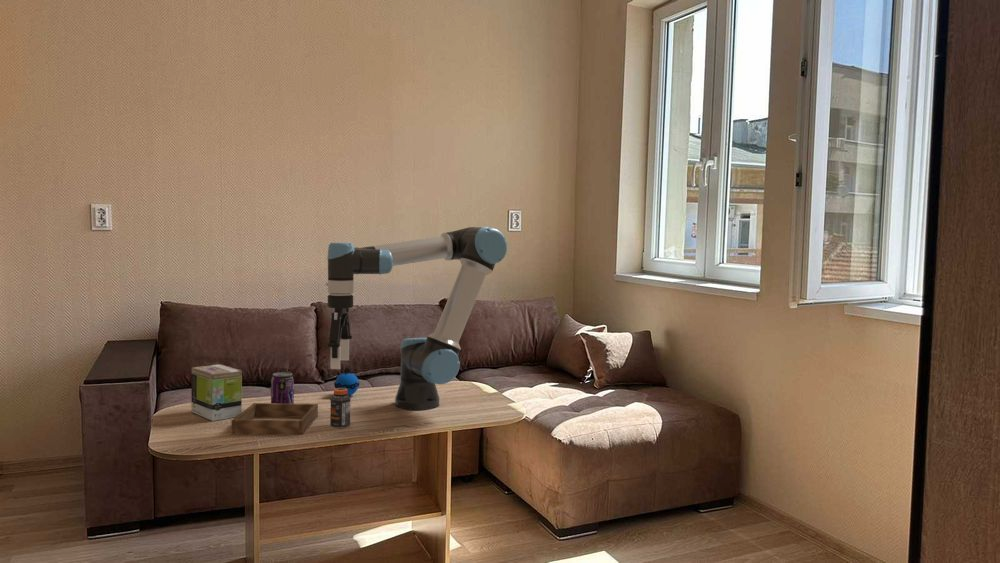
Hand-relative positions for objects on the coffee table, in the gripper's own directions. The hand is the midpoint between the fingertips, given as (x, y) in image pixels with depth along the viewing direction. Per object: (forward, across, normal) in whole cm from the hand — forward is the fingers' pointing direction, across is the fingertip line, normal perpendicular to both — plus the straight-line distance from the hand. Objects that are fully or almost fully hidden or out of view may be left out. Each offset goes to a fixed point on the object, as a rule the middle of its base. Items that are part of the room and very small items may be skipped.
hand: (340, 364), depth 209 cm
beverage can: (+19, -17, -22) cm, 33 cm away
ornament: (+19, -38, -5) cm, 43 cm away
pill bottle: (+19, 0, 0) cm, 19 cm away
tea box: (+19, -10, -41) cm, 46 cm away
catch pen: (+19, 0, -19) cm, 26 cm away
